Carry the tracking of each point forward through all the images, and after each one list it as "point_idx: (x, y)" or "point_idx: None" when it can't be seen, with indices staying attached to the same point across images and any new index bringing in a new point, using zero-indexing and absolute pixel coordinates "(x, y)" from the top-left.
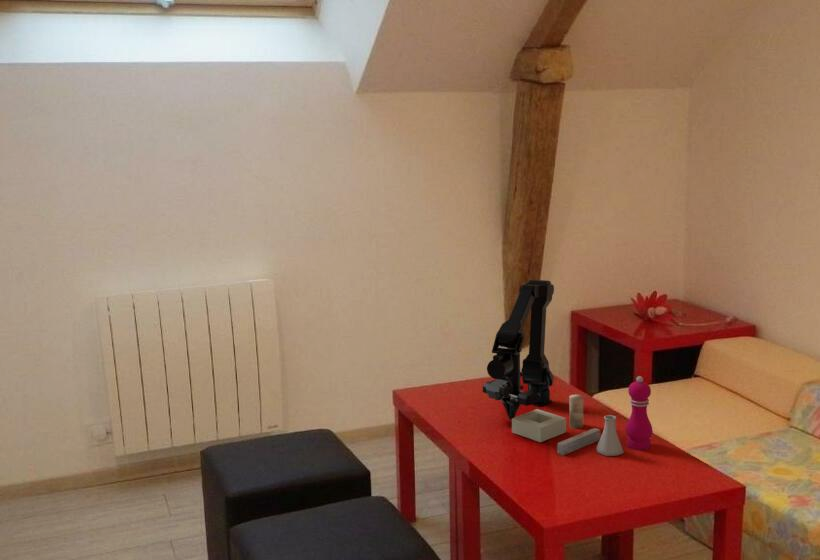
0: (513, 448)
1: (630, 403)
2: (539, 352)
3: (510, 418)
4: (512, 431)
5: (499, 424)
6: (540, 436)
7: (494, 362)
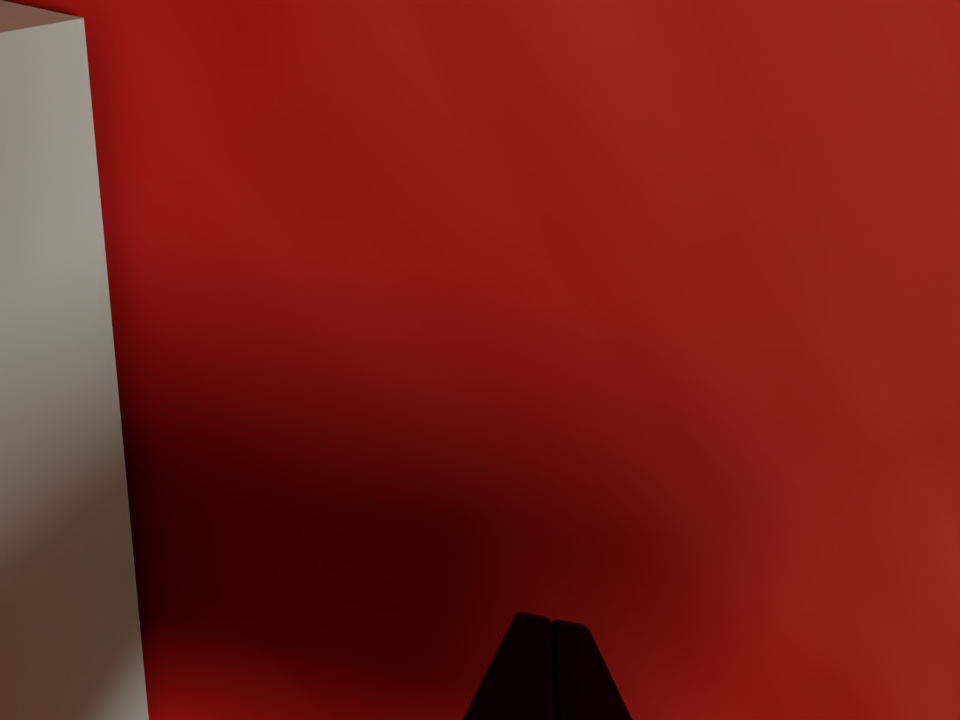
0: None
1: None
2: None
3: (525, 643)
4: (37, 16)
5: (792, 415)
6: None
7: None
